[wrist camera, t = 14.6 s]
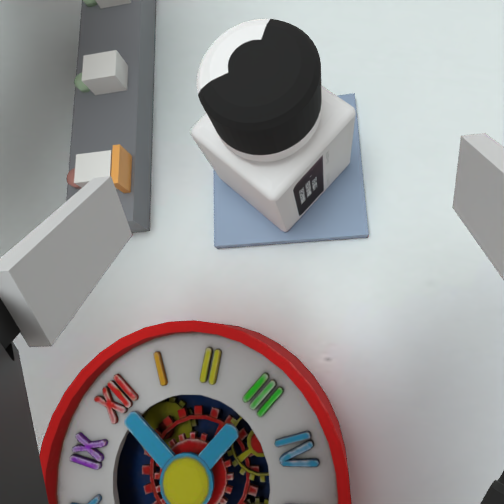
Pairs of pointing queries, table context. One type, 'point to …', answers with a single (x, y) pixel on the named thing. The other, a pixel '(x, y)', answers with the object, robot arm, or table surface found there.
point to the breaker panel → (115, 103)
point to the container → (271, 119)
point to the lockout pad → (310, 223)
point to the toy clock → (195, 424)
